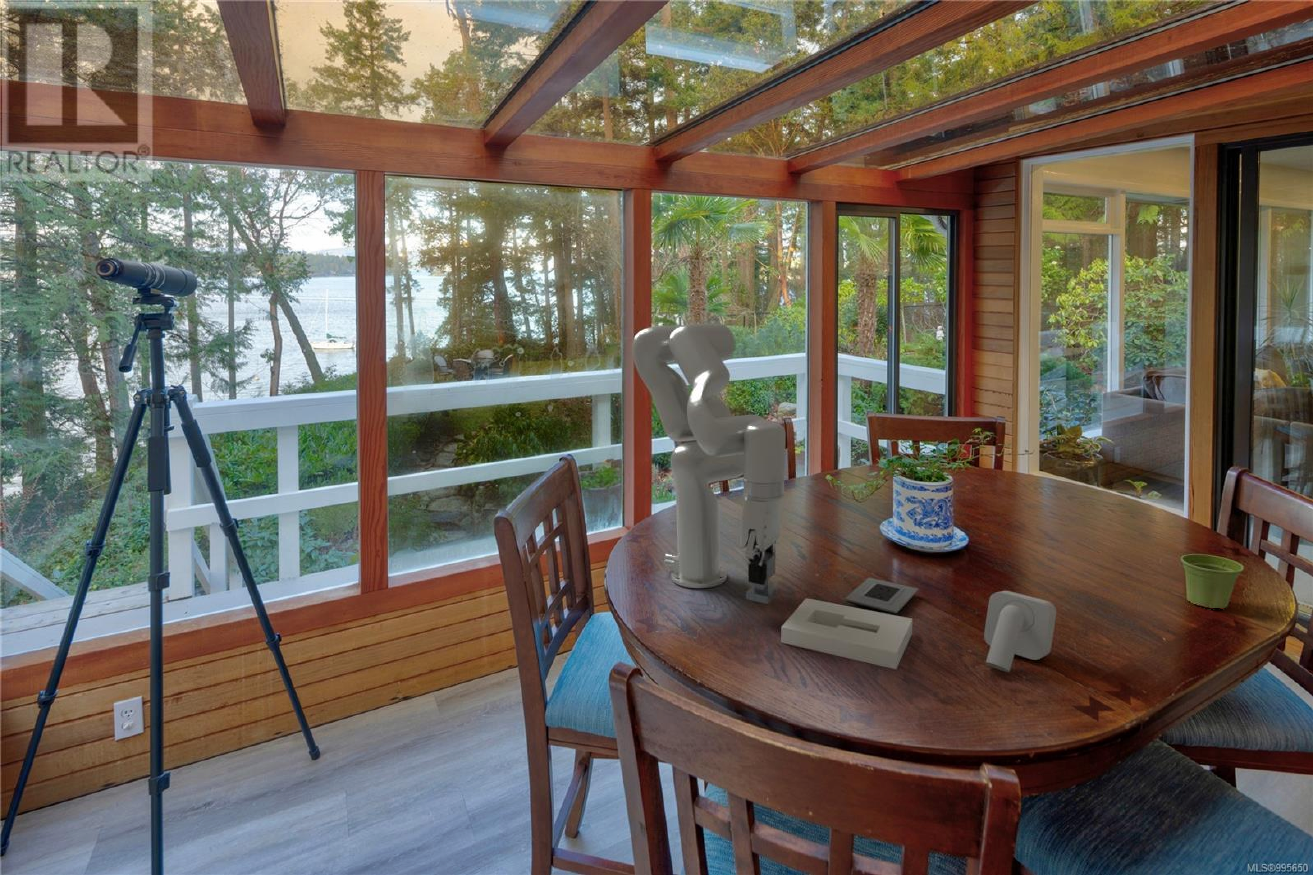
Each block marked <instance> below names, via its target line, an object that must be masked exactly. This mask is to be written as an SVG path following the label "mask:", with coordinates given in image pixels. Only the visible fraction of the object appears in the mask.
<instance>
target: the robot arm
mask: <svg viewBox="0 0 1313 875" xmlns="http://www.w3.org/2000/svg"><path fill="white" fill-rule="evenodd" d="M735 346H736V342H735V337H734V334H733V333H732V331H731V329H730V328H729V327H728V326H726V325H725V324H722V323H720V322H713V323H712V322H711V323H709V322H708V323H689V324H688V323H687V324H683V325H682V324H681V325H680V324H679V325H678V324H677V325H676V324H675V325H655V326H651V327H647V328H643V329H642V330H639V331H638V332H637V333H636V334H635V336H634V338H633V342H632V358H633V362H634V365H635V368H636V371H637V373H638V375H639V377H640V379H641V380H642V382H643V383H644V385H645V386H646V387H647V389H648V391H649V393H650V396H651V397H652V400H653V403H654V406H655V408H656V412H657V413H658V417H659V419H660V422H661V425H662V427H663V431H664V432H665V434H666V436H667V437H668V439H670V440H671V441H674V442H683V443H681V444H679V445H678V446H676V447H675V448H674V449H673V451H672V452H671V455H670V468H671V473H672V478H673V485H674V492H675V504H676V505H675V506H676V508H675V509H676V510H675V513H676V538H677V539H676V545H677V547H676V548H677V555H675V554H671V553H665V555H664V558H663V559H664V561H663V564H664V566H668V567H672V568H673V570H672V572H671V577H670V578H671V581H672V582H673V583H675V585H678V586H680V587H684V588H690V589H708V588H713V587H717V586H720V585H722V584H723V583H724V582H725V581H727V577H728V576H727V575H728V574H727V571H726V570H725V568H723V567H721V561H720V560H721V554H720V553H721V551H720V548H721V547H720V502H719V500H718V497H717V495H716V494H715V493H714V490H712V488H711V487H710V484H711V483H715V482H721V481H727V480H733V479H736V478H739V477H742V476H743V496H744V499H743V504H742V510H741V520H740V534H739V535H740V538H739V546H740V547H741V549H745V554H744V556H745V558H747V564H748V563H749V576H748V582H750V583H752V584H755V583H756V584H760V585H764V584H765V570H766V565H764V556H765V552H770V553H775V554H776V544H777V541H778V540H779V538H780V536H781V534H782V533H781V532H782V499H783V498H784V497H785V495H784V494H785V492H784V491H785V465H786V463H785V462H786V430H785V429H786V428H785V427H784V426H783V425H782V424H781V423H778V422H773V421H769V420H767V419H765V418H764V417H762V416H761V415H757V414H744V415H743V414H742V415H733V416H732V412H731V411H730V408H729V407H728V405H727V404H726V403H725V402H724V401H723V400H721V399H720V398H718V397H716V396H717V395H720V393H721V392H722V391H723V390H724V389H725V388H726V387H727V386H728V384H729V382H730V377H731V374H730V371H729V369H728V368H727V366H726V365H725V364H726V363H724V361H728V360H729V359H730V358H732V356H733V354H734V352H735V348H736V347H735ZM668 363H676V364H677V365H678V367H679V368H680V370H681V372H682V374H683V376H684V378H685V379H684V378H683V377H682V376H681V374H679V373H678V371H676V370H675V369H674V368H672V367H671V366H669V365H668ZM685 380H686V381H687V382H686V381H685ZM687 383H688V385H689V387H690V389H691V392H690V391H689V388H688V385H687ZM684 442H685V443H684ZM756 546H758V547H756ZM755 552H760V558H759V556H758V555H757V554H755Z"/></svg>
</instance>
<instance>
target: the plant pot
mask: <svg viewBox="0 0 1313 875" xmlns="http://www.w3.org/2000/svg"><path fill="white" fill-rule="evenodd" d="M1180 561H1181V562H1182V564H1183V569H1184V575H1185V587H1186V588H1185V589H1186V601H1187V600H1188V601H1187V602H1189V601H1190V603H1191V604H1192V603H1193V604H1197V605H1201V606H1204V607H1209V608H1225V607H1227V608H1228V606H1229V602H1230V600H1231V596H1232V593H1233V590H1234V587H1235V584H1236V582H1237V579H1238V578H1239V576H1240V574H1241V573H1242V572H1244V570H1245V566H1244V565H1243V564H1242V563H1240V562H1238V561H1235V560H1232V559H1229V558H1226V557H1222V556H1217V555H1211V554H1203V553H1189V554H1183V555H1182V556H1181V557H1180ZM1193 604H1192V605H1193Z"/></svg>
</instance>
